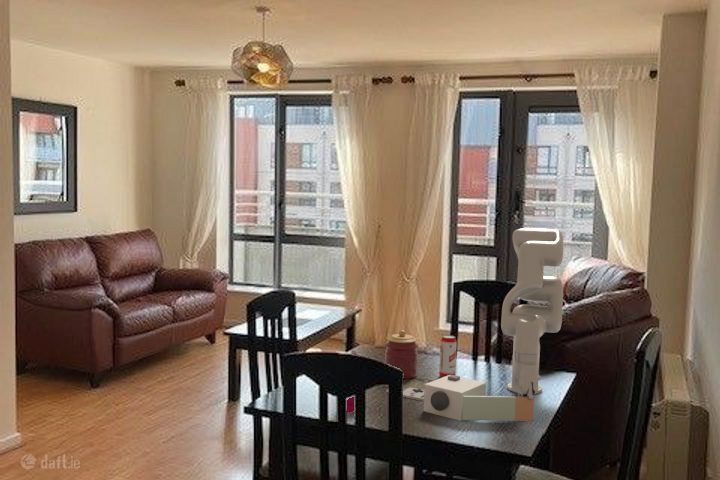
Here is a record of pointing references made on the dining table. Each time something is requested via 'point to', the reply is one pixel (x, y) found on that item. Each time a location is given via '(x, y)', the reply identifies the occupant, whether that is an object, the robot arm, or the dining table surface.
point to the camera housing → (450, 395)
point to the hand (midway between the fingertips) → (523, 413)
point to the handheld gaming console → (414, 394)
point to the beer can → (447, 355)
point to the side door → (498, 408)
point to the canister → (402, 353)
